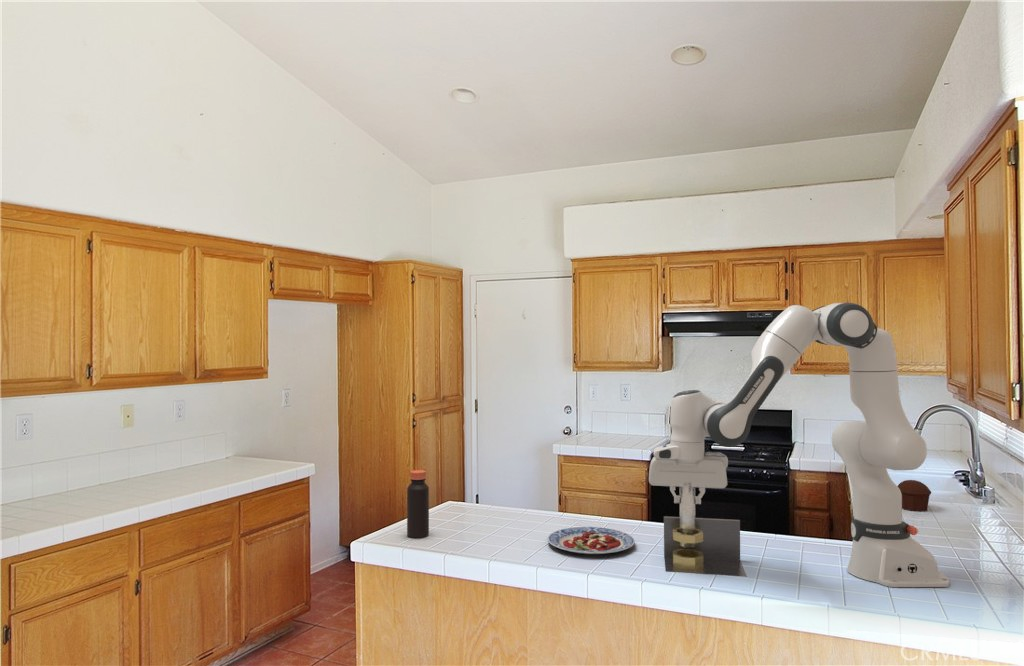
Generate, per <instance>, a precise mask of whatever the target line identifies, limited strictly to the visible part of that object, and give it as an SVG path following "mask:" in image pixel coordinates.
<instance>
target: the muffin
mask: <svg viewBox="0 0 1024 666" xmlns="http://www.w3.org/2000/svg"><path fill="white" fill-rule="evenodd" d="M897 486H898V488H899V489H900V491H901V494H902V510H904V511H907V512H908V511H909V512H920V513H923V512H928V508H929V501H930V500H929V499H930V495H931V494H932V491H931V490H930V488H929V487H928V486H927V485H926V484H925V483H923V482H922V481H919V480H915V479H905V480H903V481H901V482H900V483H898V485H897Z"/></svg>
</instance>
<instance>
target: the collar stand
mask: <svg viewBox="0 0 1024 666" xmlns="http://www.w3.org/2000/svg"><path fill="white" fill-rule="evenodd" d="M679 531H680V516H667V515H665V516H663V560H664V568H665V569H664V570H665V572H667V573H680V574H695V575H697V574H698V575H699V574H700V575H713V576H731V577H746V578H747V577H748V576H747V574H746V571H745V569H744V566H743V564H742V562H741V520H740V519H728V518H726V519H724V518H708V517H707V518H705V517H704V518H703V517H695V532H696V534H693V535H692V534H682V533H679ZM680 542H682V543H695V547H692V548H686V547H682V546H680Z"/></svg>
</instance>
